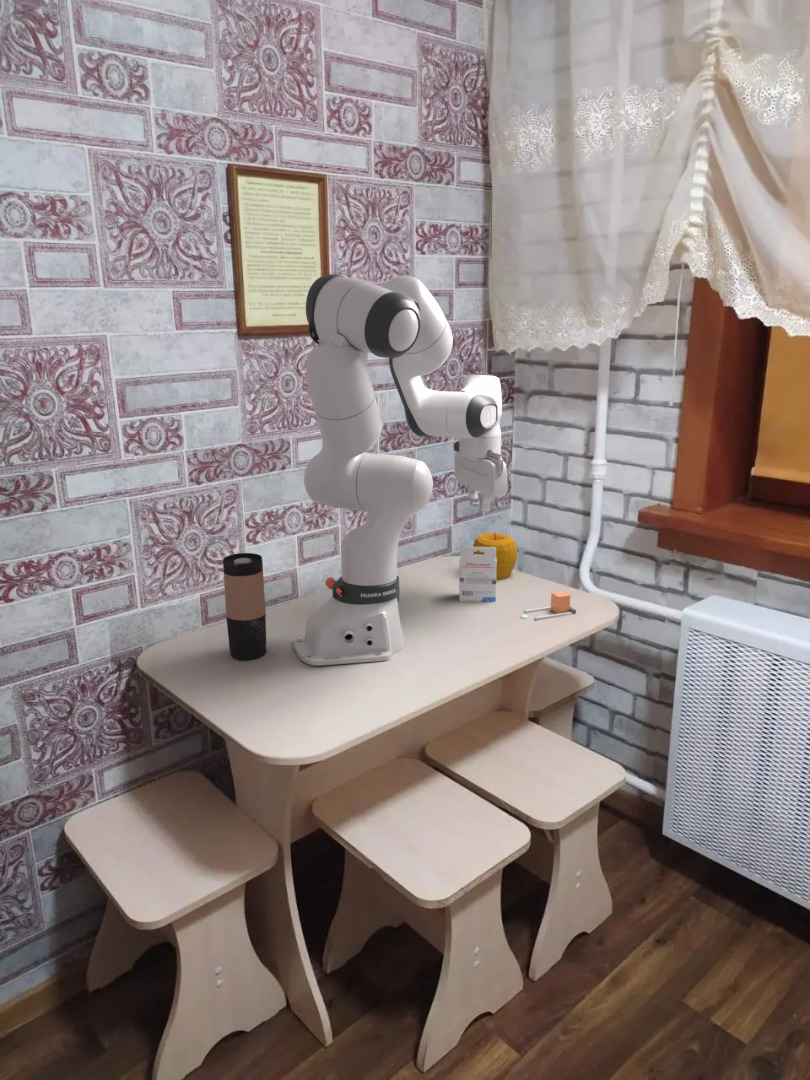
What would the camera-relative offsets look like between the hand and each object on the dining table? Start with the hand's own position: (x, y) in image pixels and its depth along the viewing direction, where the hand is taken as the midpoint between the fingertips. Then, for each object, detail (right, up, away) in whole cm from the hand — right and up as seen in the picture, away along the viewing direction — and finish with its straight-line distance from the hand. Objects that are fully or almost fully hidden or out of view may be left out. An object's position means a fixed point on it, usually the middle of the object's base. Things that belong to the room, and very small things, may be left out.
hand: (479, 508), depth 179 cm
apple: (+6, -18, +22) cm, 29 cm away
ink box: (0, -22, +6) cm, 23 cm away
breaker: (+17, -23, -3) cm, 29 cm away
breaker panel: (+12, -24, 0) cm, 27 cm away
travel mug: (-48, -30, -21) cm, 60 cm away
